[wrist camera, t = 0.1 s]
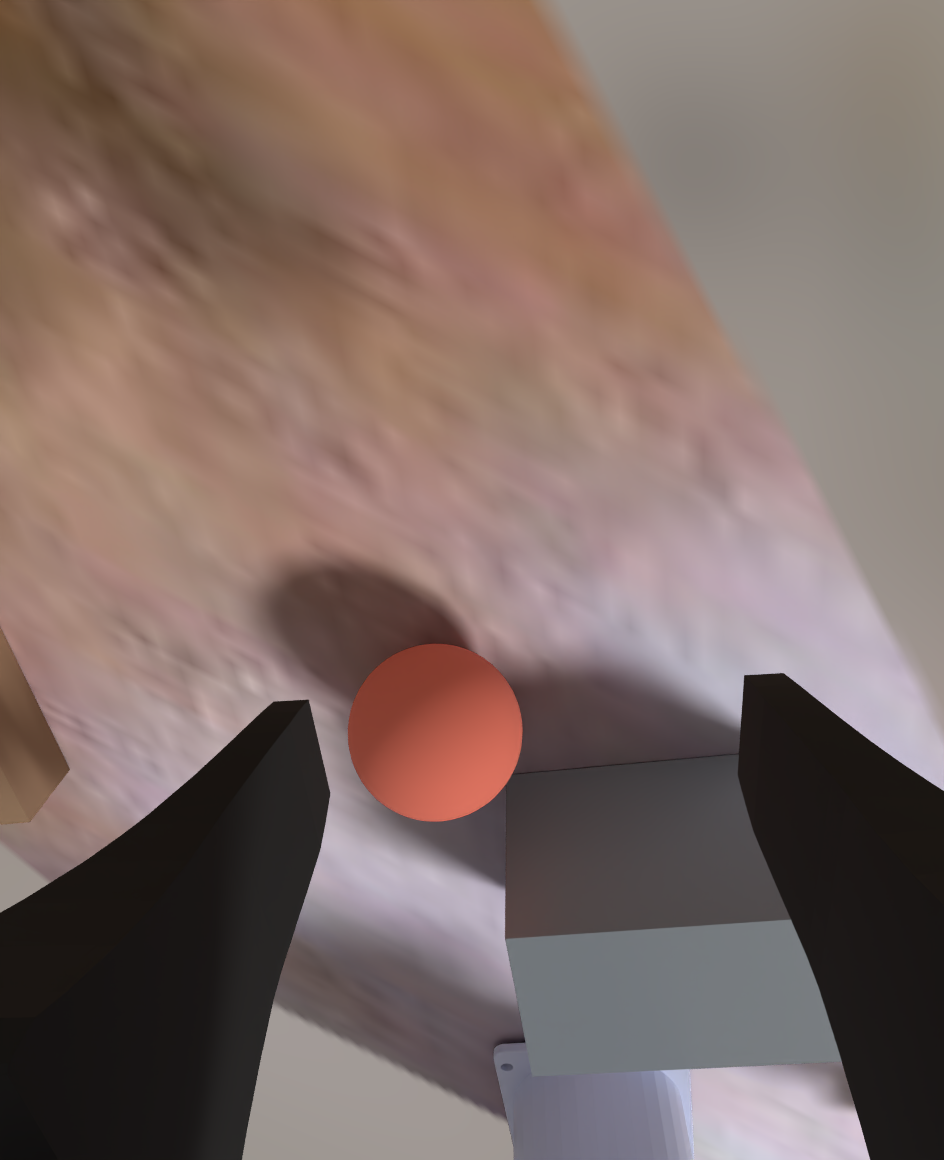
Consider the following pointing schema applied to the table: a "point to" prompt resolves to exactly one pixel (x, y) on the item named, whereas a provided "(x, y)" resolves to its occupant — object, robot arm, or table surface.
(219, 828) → the robot arm
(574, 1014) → the gray block
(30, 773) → the brown block
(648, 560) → the table surface
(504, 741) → the ball
